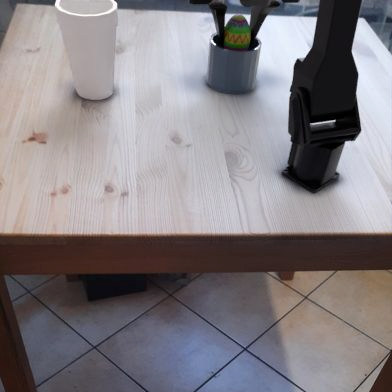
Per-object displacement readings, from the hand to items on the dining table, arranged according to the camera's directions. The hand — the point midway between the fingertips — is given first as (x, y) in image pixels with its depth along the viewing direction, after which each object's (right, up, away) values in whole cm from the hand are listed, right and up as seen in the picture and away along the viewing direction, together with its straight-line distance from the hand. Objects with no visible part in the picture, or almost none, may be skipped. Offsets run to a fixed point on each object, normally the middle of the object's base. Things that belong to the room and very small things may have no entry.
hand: (235, 46), depth 85 cm
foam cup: (-25, -8, 0) cm, 26 cm away
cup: (0, -4, +5) cm, 6 cm away
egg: (0, -1, +1) cm, 1 cm away
